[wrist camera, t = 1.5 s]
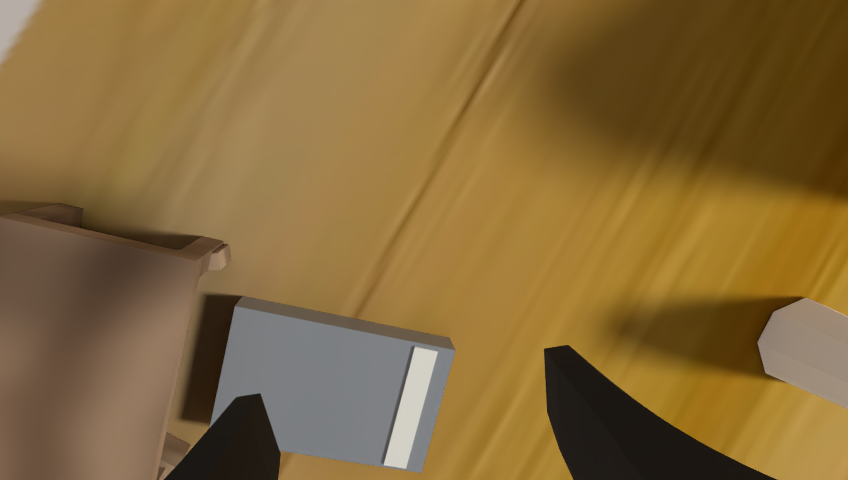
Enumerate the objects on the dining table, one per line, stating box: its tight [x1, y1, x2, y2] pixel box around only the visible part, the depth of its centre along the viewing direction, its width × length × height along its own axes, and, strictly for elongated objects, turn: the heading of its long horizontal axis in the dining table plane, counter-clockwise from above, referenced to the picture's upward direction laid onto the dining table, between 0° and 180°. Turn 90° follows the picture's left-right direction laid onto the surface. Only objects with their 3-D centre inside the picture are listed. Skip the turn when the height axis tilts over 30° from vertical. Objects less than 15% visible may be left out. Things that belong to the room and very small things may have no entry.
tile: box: [210, 296, 455, 473], centre depth 27 cm, size 11×7×2 cm, turn 75°
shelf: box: [0, 203, 231, 480], centre depth 24 cm, size 8×12×4 cm, turn 164°
